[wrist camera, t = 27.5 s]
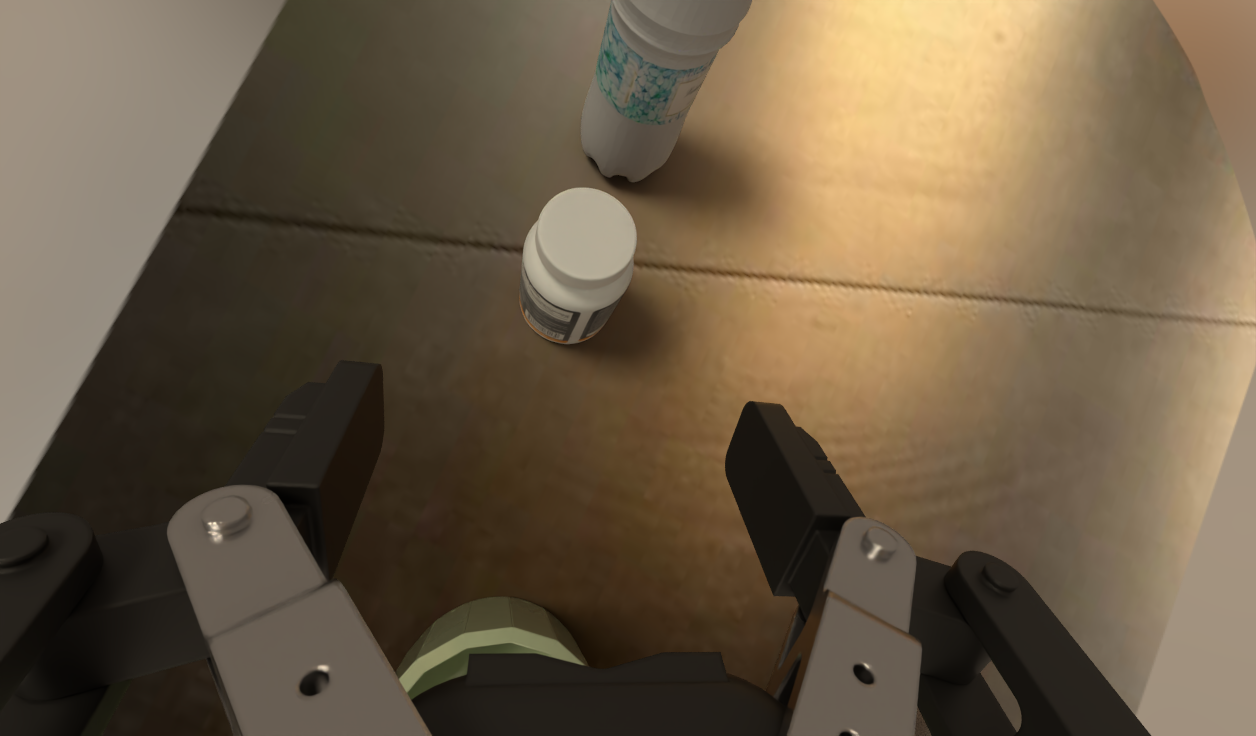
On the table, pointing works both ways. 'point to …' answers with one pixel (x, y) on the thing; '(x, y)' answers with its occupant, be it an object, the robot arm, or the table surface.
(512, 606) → the green cup
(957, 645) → the robot arm
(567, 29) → the table surface
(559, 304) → the pill bottle
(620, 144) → the bottle
